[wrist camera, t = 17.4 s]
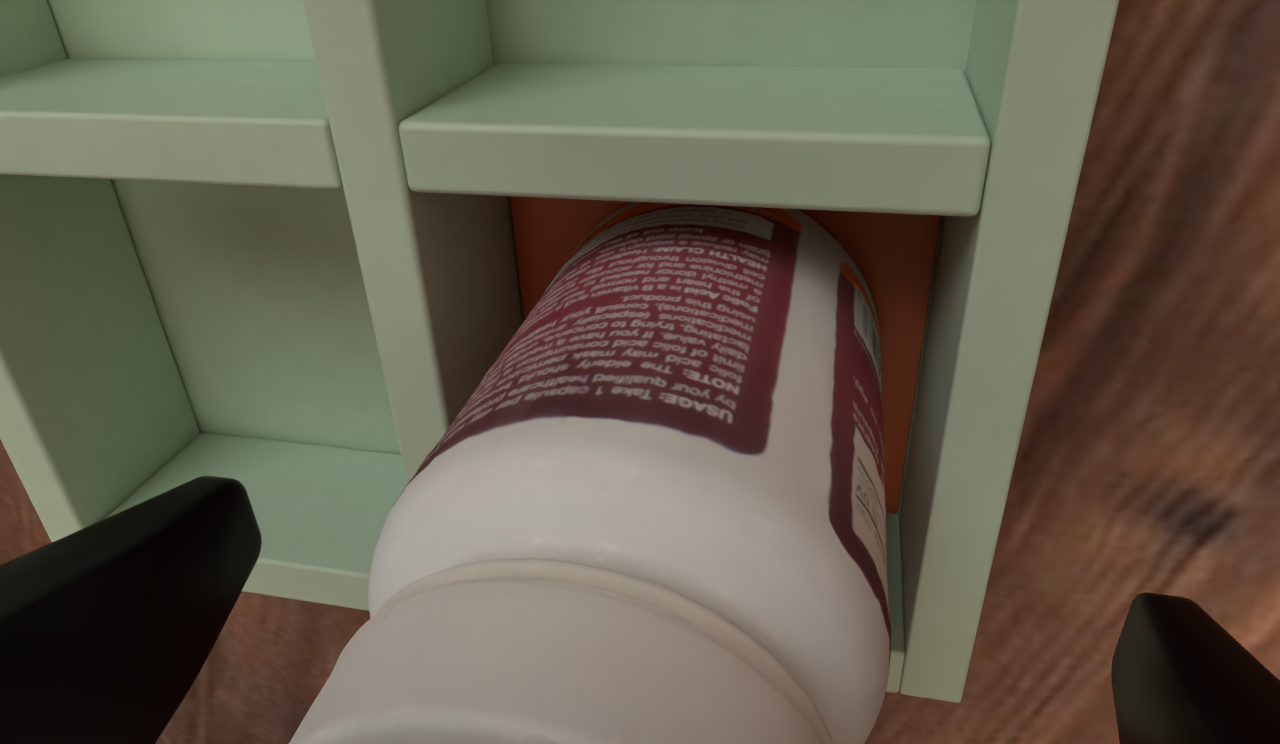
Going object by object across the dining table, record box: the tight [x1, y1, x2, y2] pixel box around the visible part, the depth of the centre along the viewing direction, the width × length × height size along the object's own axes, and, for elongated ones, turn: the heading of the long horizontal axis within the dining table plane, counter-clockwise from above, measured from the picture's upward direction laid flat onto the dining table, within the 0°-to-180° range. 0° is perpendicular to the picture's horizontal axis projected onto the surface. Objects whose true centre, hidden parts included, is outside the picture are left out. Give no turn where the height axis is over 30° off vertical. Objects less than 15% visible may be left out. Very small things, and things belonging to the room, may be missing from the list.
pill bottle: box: [289, 202, 891, 744], centre depth 9 cm, size 5×5×8 cm
